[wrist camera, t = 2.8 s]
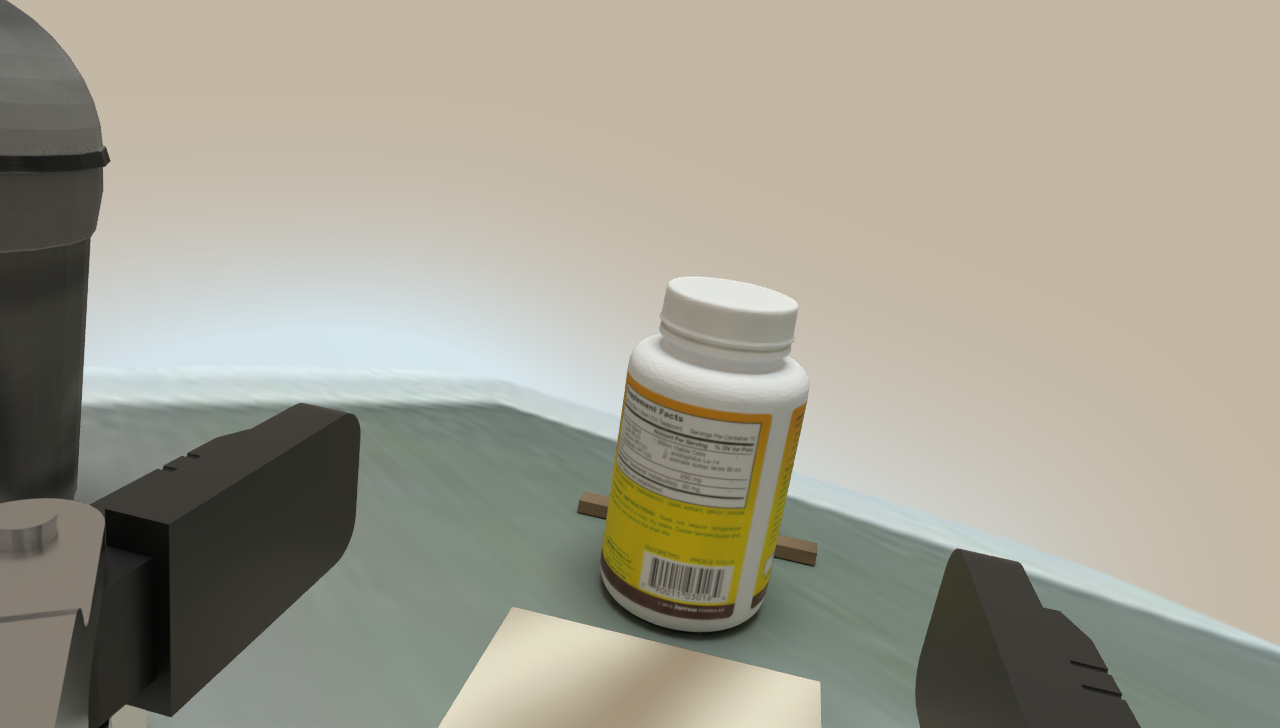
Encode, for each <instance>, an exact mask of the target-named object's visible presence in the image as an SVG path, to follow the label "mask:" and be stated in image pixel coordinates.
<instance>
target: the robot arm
mask: <svg viewBox="0 0 1280 728" xmlns="http://www.w3.org/2000/svg"><path fill="white" fill-rule="evenodd" d="M359 451H360V425H359V421H358V419H357V417H356V416H355V415H353V414H350V413H346V412H341V411H337V410H332V409H328V408H323V407H319V406H314V405H310V404H305V403H299V404H296V405H294V406H292V407H290V408H288V409H287V410H285V411H283V412H281V413H279V414H277V415H276V416H274V417H272V418H270V419H268V420H266V421H265V422H263V423H261V424H259V425H257V426H255V427H254V428H252V429H248V430H244V431H240V432H237V433H233V434H229V435H225V436H221V437H217V438H215V439H213V440H211V441H209V442H207V443H206V444H204V445H202V446H200V447H198V448H196V449H194V450H192V451H190V452H188V454H187V457H184V456H181V457H179V458H177V459H175V460H173V461H171V462H170V463H168V464H166V465H164V467H163V469H162V470H160V469H156V470H154V471H152V472H151V473H149V474H147V475H145V476H143V477H141V478H139V479H137V480H135V481H134V482H132V483H130V484H128V485H126V486H124V487H122V488H120V489H118V490H117V491H115V492H113V493H111V494H109V495H107V496H105V497H103V498H101V499H99V500H98V501H96V502H94V503H92V504H90V505H88V504H85V503H82V502H77V501H73V500H66V499H52V498H41V499H26V500H17V501H11V502H5V503H0V728H112V716H113V715H114V714H115V713H116V712H118V711H119V710H120V709H121V708H122V707H124V706H125V705H129V706H133V707H137V708H140V709H144V710H147V711H151V712H154V713H158V714H162V715H165V716H169V717H172V716H173V715H174V714H175V713H176V712H177V711H178V710H180V709H181V708H182V707H183V706H184V705H185V704H186V703H187V702H188V701H189V700H190V699H191V698H192V697H193V696H195V695H196V694H197V693H198V692H199V691H200V690H201V689H202V688H203V687H204V686H205V685H206V684H207V683H208V682H210V681H211V680H212V679H213V678H214V677H215V676H216V675H217V674H218V673H219V672H220V671H221V670H222V669H224V668H225V667H226V666H227V665H228V664H229V663H230V662H231V661H232V660H233V659H234V658H235V657H236V656H237V655H239V654H240V653H241V652H242V651H243V650H244V649H245V648H246V647H247V646H248V645H249V644H250V643H251V642H252V641H254V640H255V639H256V638H257V637H258V636H259V635H260V634H261V633H262V632H263V631H264V630H265V629H266V628H268V627H269V626H270V625H271V624H272V623H273V622H274V621H275V620H276V619H277V618H278V617H279V616H280V615H281V614H283V613H284V612H285V611H286V610H287V609H288V608H289V607H290V606H291V605H292V604H293V603H294V602H295V601H296V600H298V599H299V598H300V597H301V596H302V595H303V594H304V593H305V592H306V591H307V590H308V589H309V588H310V587H312V586H313V585H314V584H315V583H316V582H317V581H318V580H319V579H320V578H321V577H322V576H323V575H324V574H325V573H327V572H328V571H329V570H330V569H331V568H332V567H333V566H334V565H335V564H336V563H337V562H338V561H339V560H340V558H341V557H342V555H343V554H344V552H345V550H346V548H347V546H348V544H349V542H350V539H351V536H352V533H353V529H354V524H355V517H356V501H357V485H358V468H359ZM1107 672H1108V668H1107V667H1106V665H1105V663H1104V661H1103V659H1102V658H1101V656H1100V654H1099V652H1098V650H1097V649H1096V647H1095V645H1094V643H1093V642H1092V640H1091V639H1090V638H1089V637H1088V636H1087V635H1086V634H1084V633H1083V632H1082V631H1081V630H1080V629H1079V628H1078V627H1077V626H1076V625H1074V624H1073V623H1072V622H1071V621H1070V620H1069V619H1068V618H1067V617H1066V616H1065V615H1063V614H1062V613H1061V612H1060V611H1057V610H1052V609H1048V608H1043V607H1042V605H1041V603H1040V600H1039V598H1038V596H1037V594H1036V592H1035V590H1034V588H1033V586H1032V584H1031V582H1030V580H1029V578H1028V576H1027V574H1026V572H1025V570H1024V568H1023V566H1022V565H1021V563H1019V562H1017V561H1012V560H1008V559H1003V558H998V557H994V556H989V555H985V554H980V553H976V552H971V551H967V550H962V549H956V550H954V551H953V553H952V554H951V556H950V558H949V560H948V563H947V566H946V569H945V572H944V576H943V579H942V582H941V586H940V589H939V593H938V596H937V600H936V603H935V606H934V610H933V613H932V617H931V620H930V624H929V627H928V630H927V634H926V637H925V641H924V644H923V648H922V651H921V655H920V659H919V663H918V669H917V676H916V690H915V698H916V708H917V714H918V719H919V724H920V728H1141V727H1140V725H1139V724H1138V722H1137V720H1136V718H1135V717H1134V715H1133V713H1132V711H1131V709H1130V708H1129V706H1128V704H1127V702H1126V700H1121V696H1122V693H1121V692H1120V690H1119V688H1118V686H1117V684H1116V683H1115V681H1114V679H1113V677H1112V675H1108V674H1107Z"/></svg>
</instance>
